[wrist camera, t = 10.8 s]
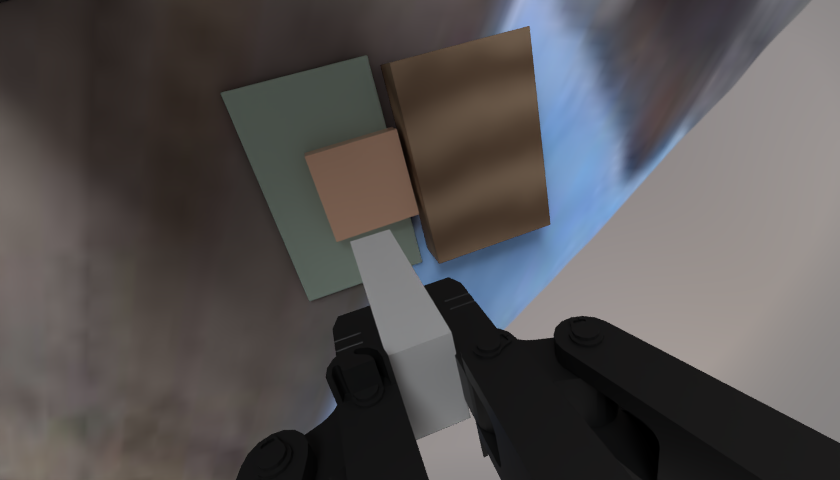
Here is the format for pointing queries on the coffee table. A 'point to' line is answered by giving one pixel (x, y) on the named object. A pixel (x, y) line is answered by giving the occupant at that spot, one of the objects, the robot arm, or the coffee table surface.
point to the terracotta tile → (363, 183)
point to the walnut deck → (471, 141)
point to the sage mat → (287, 168)
